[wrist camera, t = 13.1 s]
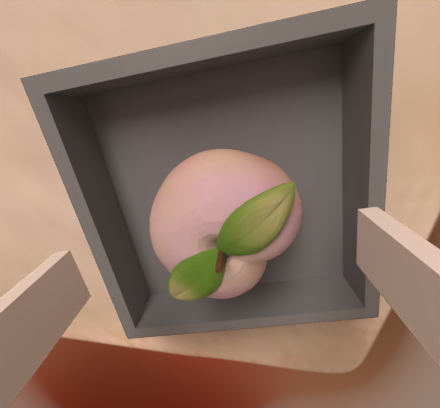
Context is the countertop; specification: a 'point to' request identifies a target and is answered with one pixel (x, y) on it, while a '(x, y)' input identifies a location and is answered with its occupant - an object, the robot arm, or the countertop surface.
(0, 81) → the countertop surface
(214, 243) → the decorative fruit
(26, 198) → the countertop surface
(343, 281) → the bin
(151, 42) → the countertop surface
